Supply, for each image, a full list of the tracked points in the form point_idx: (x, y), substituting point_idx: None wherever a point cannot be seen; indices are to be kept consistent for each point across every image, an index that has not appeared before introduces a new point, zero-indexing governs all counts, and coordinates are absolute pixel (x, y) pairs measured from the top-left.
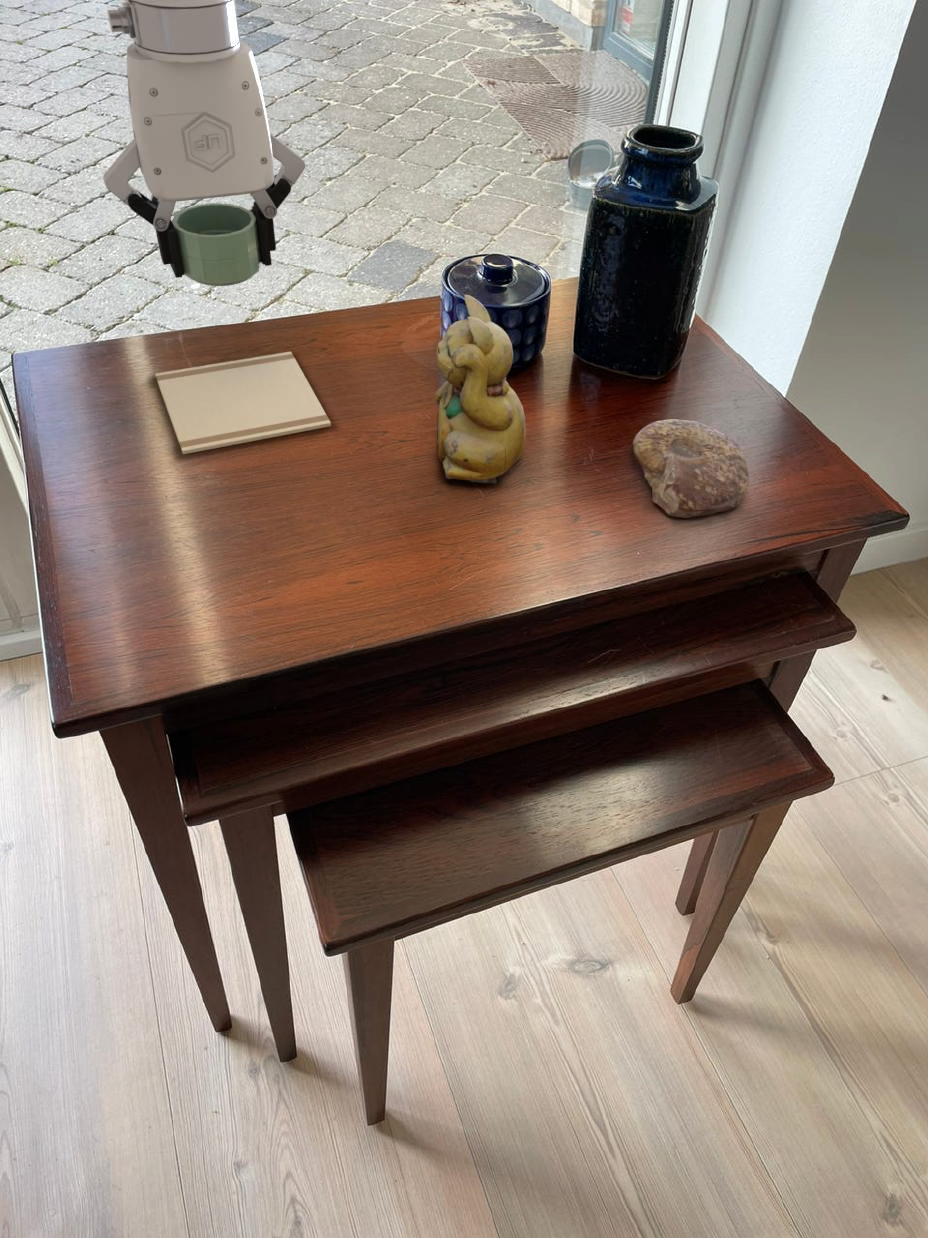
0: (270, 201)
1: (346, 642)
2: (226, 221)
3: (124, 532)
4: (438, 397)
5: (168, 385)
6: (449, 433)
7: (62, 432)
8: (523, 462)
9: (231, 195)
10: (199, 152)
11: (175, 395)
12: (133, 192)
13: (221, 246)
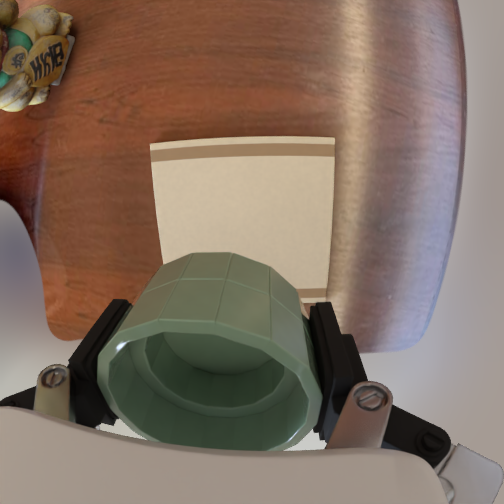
0: (38, 392)
1: None
2: (182, 420)
3: (406, 39)
4: (25, 74)
5: (318, 275)
6: (43, 37)
7: (432, 227)
8: None
9: (105, 431)
10: None
11: (316, 254)
12: (436, 471)
13: (203, 301)
